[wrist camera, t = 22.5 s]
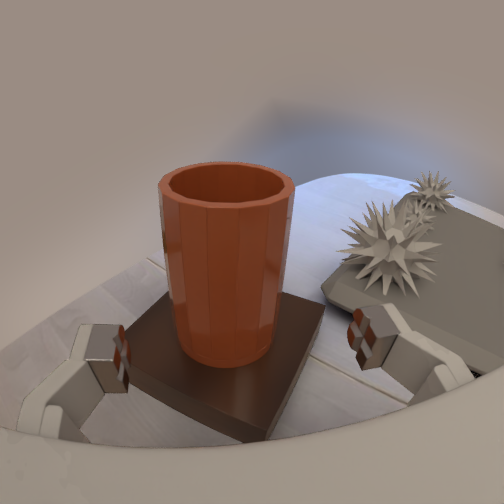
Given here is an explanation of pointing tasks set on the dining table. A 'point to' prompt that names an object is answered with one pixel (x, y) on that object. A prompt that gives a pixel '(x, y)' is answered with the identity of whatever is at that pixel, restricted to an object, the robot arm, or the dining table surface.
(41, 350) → the dining table surface
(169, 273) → the pot
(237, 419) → the stand
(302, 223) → the dining table surface
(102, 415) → the dining table surface
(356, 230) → the decorative tray
